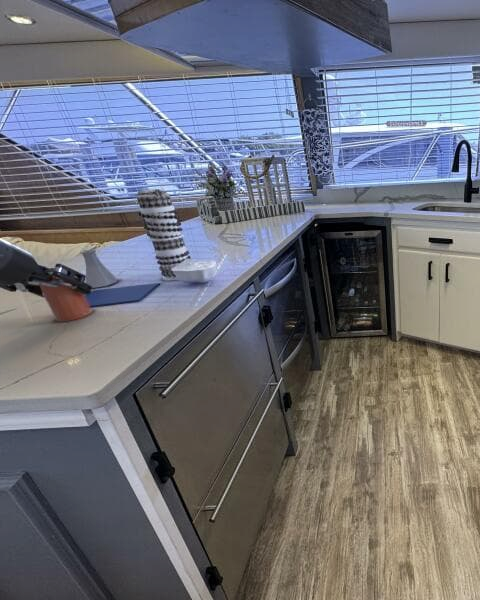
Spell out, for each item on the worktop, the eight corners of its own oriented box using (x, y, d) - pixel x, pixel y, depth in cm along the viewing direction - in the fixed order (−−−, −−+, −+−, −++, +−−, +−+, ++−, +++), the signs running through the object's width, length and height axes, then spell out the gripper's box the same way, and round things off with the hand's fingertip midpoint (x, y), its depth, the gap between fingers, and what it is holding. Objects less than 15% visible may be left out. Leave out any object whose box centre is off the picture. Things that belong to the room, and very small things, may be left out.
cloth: (61, 310, 76) (60, 309, 76) (93, 291, 88) (92, 290, 87) (139, 301, 80) (138, 299, 80) (159, 284, 91) (159, 282, 91)
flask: (94, 282, 95) (79, 249, 91) (122, 278, 97) (109, 246, 93) (80, 290, 89) (63, 255, 85) (111, 286, 91) (96, 252, 87)
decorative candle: (188, 279, 94) (160, 190, 84) (154, 282, 93) (121, 191, 83) (202, 270, 102) (177, 187, 92) (171, 272, 101) (142, 189, 91)
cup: (49, 323, 70) (26, 280, 66) (67, 312, 75) (47, 271, 71) (82, 319, 71) (61, 276, 67) (97, 308, 76) (79, 268, 73)
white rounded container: (200, 290, 85) (193, 265, 83) (168, 286, 89) (160, 263, 86) (230, 277, 94) (224, 255, 91) (199, 274, 98) (193, 253, 95)
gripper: (36, 236, 59) (106, 275, 74) (-50, 241, 58) (39, 279, 73) (23, 272, 56) (99, 305, 71) (-67, 278, 55) (29, 310, 70)
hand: (69, 292), depth 72 cm, fingers open, 8 cm apart
